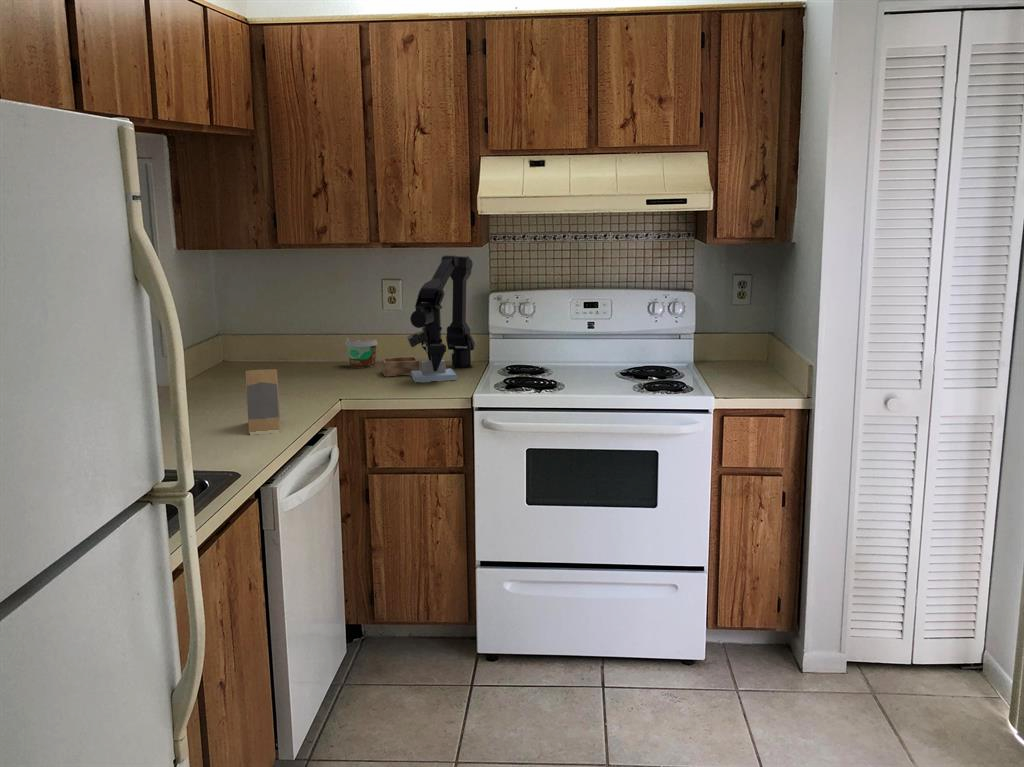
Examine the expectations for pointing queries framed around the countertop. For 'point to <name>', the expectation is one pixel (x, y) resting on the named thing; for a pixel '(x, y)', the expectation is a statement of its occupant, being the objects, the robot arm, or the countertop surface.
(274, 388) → the sandwich container
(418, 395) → the countertop surface
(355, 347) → the food container
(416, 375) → the lid
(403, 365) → the box
